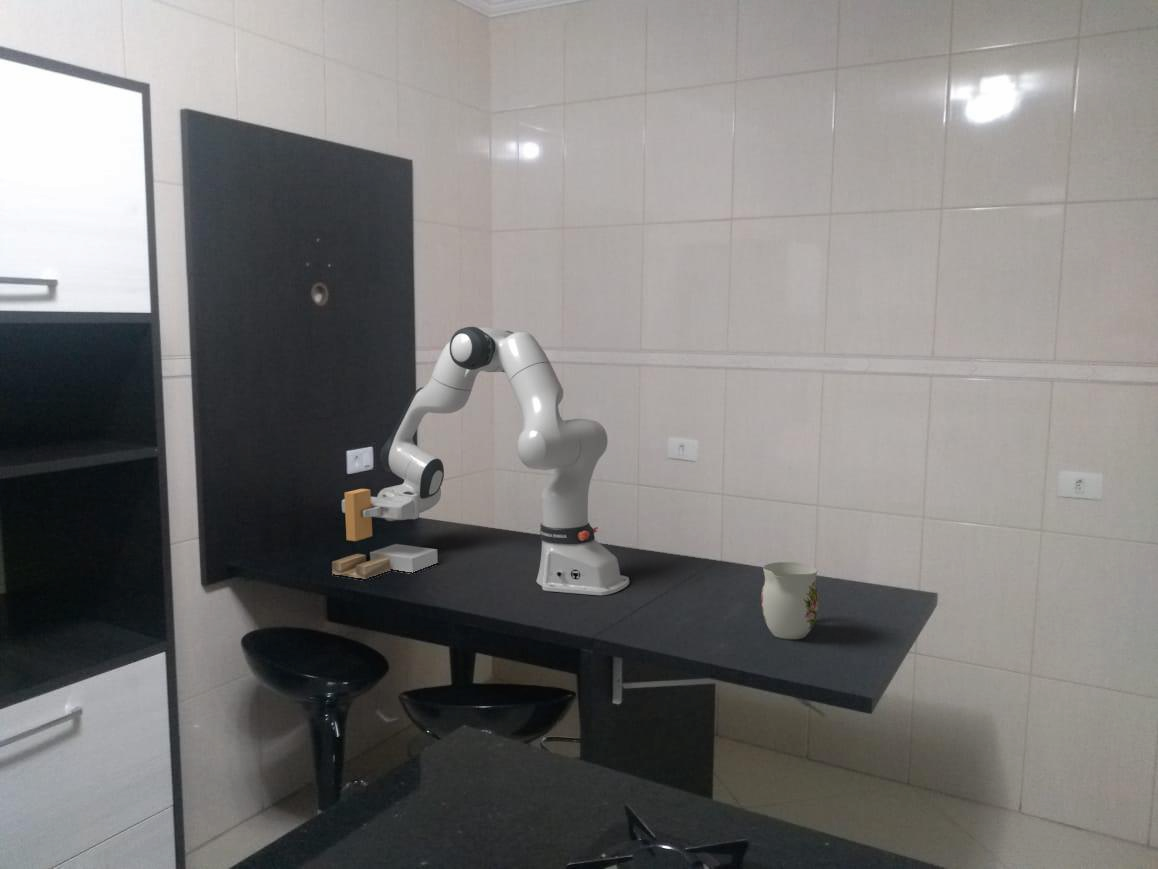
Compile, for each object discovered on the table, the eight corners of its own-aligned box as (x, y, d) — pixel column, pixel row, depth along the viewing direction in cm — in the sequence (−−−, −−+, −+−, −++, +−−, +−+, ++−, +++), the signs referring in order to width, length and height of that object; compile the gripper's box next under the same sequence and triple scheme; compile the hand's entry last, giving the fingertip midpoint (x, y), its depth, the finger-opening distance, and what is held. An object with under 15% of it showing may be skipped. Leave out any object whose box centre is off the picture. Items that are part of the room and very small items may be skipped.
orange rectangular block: (372, 536, 222) (370, 489, 221) (355, 541, 217) (353, 493, 215) (363, 534, 224) (361, 488, 222) (346, 539, 218) (344, 492, 217)
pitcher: (828, 622, 179) (829, 557, 177) (807, 651, 163) (808, 579, 162) (775, 614, 184) (776, 551, 182) (749, 642, 168) (750, 572, 167)
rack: (390, 571, 222) (389, 558, 222) (365, 580, 215) (364, 566, 214) (357, 566, 228) (357, 553, 227) (332, 575, 220) (331, 561, 220)
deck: (437, 564, 229) (437, 549, 228) (412, 573, 220) (412, 558, 220) (396, 558, 236) (395, 543, 235) (370, 567, 227) (370, 552, 226)
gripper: (363, 488, 235) (325, 497, 223) (422, 494, 225) (386, 504, 213) (364, 511, 236) (326, 521, 224) (423, 518, 226) (387, 529, 214)
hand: (355, 513), depth 219 cm, fingers closed on orange rectangular block, 3 cm apart
